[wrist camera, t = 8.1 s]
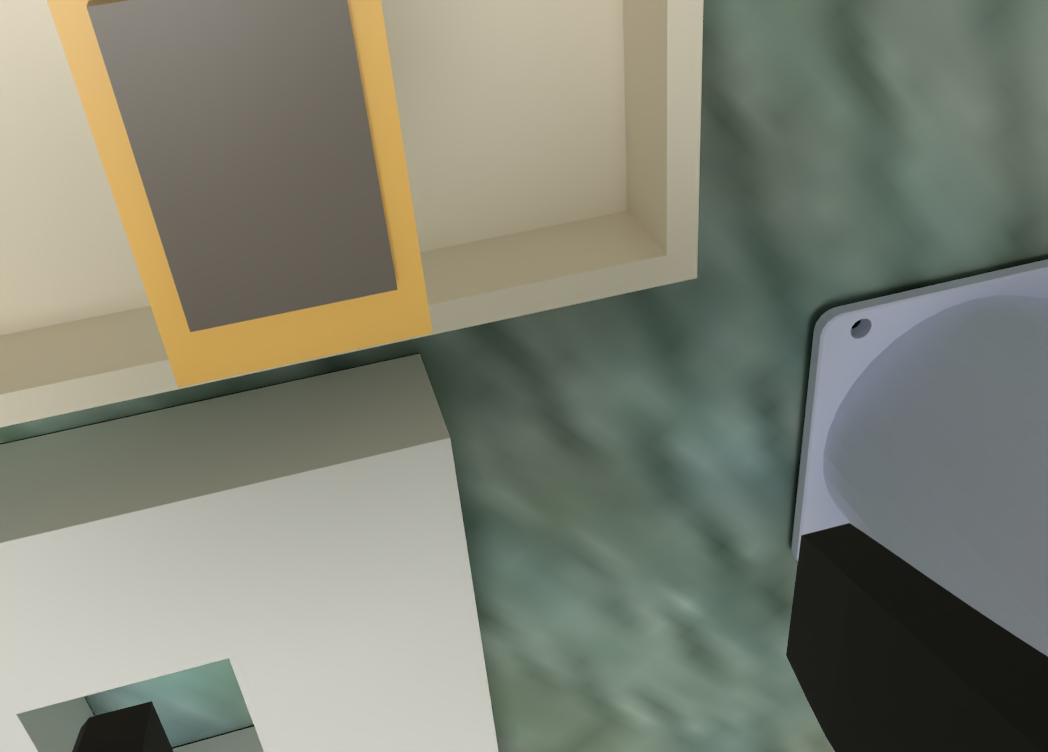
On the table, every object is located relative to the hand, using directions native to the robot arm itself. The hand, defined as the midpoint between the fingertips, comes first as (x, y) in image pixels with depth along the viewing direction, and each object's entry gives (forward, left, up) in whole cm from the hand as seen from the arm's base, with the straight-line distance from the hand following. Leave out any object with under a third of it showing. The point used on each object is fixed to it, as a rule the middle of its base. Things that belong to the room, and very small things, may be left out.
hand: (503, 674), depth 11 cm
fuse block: (+6, +9, -10) cm, 15 cm away
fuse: (+1, -6, -10) cm, 11 cm away
